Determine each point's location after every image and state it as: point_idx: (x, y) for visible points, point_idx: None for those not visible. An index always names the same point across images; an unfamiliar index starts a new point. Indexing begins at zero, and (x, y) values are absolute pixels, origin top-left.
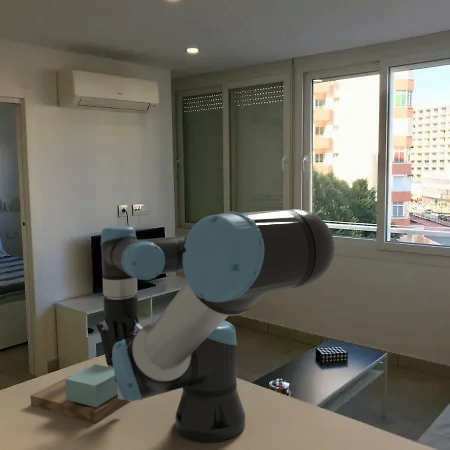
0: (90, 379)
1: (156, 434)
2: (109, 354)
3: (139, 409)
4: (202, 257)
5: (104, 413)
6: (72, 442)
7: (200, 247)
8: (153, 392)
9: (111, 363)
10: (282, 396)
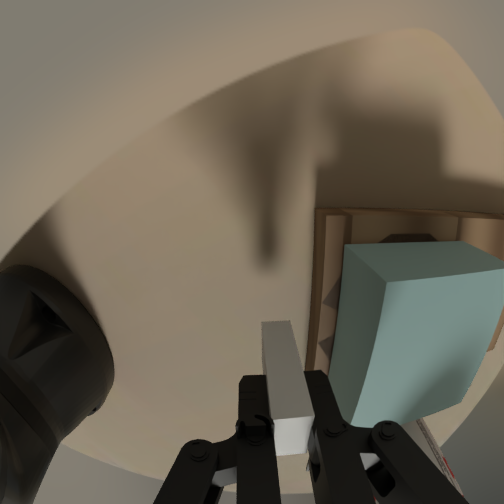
0: (440, 320)
1: (91, 248)
2: (401, 481)
3: (244, 345)
4: None
5: (317, 259)
6: (293, 75)
7: None
8: None
9: (370, 439)
10: (61, 442)
